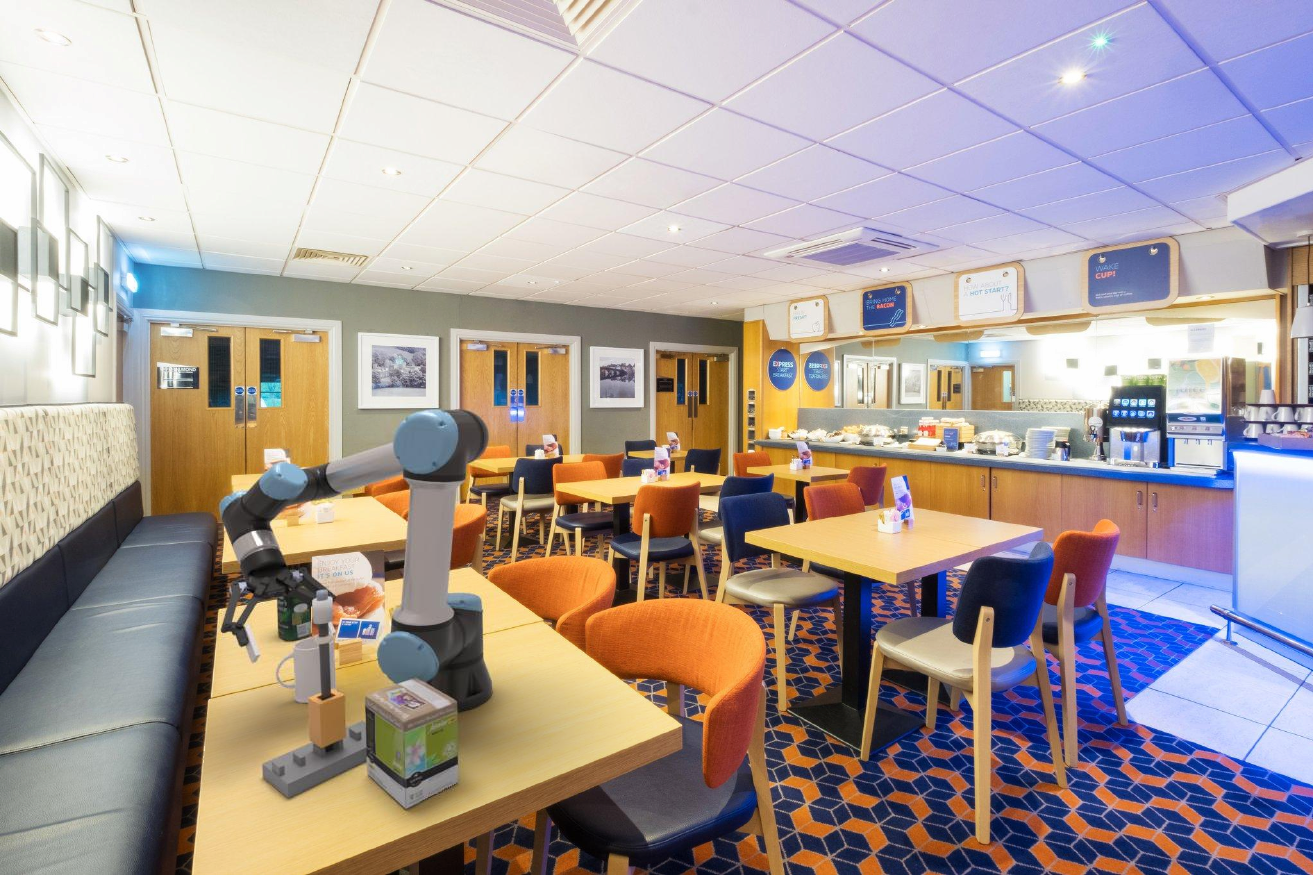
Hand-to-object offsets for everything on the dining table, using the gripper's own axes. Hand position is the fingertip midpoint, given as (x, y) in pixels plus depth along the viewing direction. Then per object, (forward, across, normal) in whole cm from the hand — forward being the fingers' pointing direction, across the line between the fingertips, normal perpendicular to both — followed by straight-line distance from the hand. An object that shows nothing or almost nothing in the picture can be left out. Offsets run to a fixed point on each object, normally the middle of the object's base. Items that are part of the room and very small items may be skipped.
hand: (295, 647), depth 117 cm
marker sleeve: (+18, 0, -2) cm, 18 cm away
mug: (0, -10, -27) cm, 29 cm away
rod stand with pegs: (+22, 0, -5) cm, 22 cm away
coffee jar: (-28, -25, -57) cm, 68 cm away
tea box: (+33, -7, +7) cm, 35 cm away
